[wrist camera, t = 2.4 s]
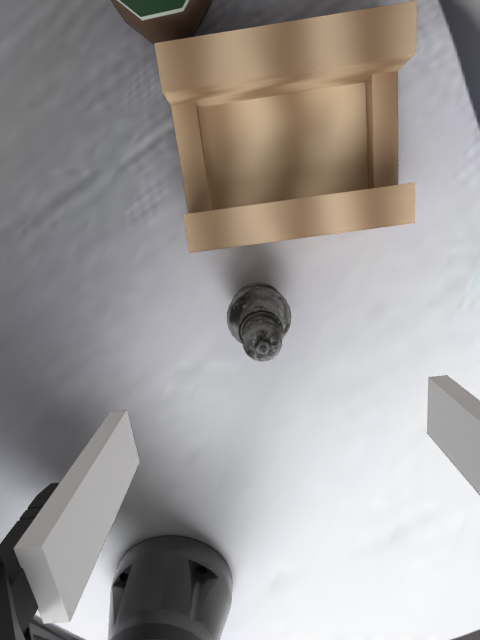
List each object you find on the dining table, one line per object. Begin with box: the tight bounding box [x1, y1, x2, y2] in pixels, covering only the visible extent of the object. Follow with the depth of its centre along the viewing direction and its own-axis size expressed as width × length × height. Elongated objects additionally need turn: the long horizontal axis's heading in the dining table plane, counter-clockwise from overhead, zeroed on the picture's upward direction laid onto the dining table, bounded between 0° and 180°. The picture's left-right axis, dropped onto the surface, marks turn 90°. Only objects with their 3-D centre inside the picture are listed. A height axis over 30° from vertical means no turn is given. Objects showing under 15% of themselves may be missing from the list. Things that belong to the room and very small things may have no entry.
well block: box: [154, 1, 417, 253], centre depth 28 cm, size 18×14×6 cm
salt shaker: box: [227, 283, 291, 361], centre depth 29 cm, size 6×6×12 cm
